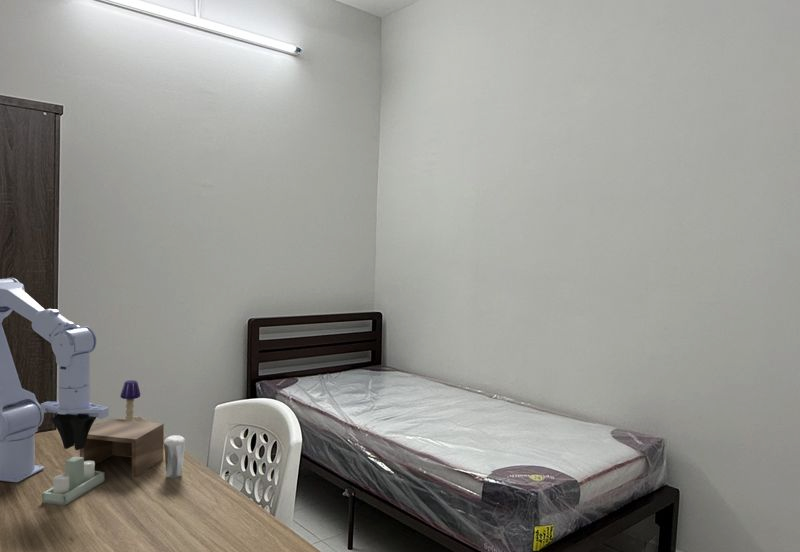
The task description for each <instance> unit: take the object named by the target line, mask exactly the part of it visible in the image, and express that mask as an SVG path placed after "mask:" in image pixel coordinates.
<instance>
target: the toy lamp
mask: <svg viewBox="0 0 800 552" xmlns="http://www.w3.org/2000/svg"><path fill="white" fill-rule="evenodd" d="M140 397H141V391H140V387H139V383H138V381H136V380H133V379H132V380H130V379H129V380H126V381H124V384H123V386H122V390H121V393H120V399H124V400H126V405H125V408H126V409H125V414H126V415H125V420H132V421H134V415H133V414H134V407H135V405H134V402H135V399H139V398H140Z"/></svg>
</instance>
